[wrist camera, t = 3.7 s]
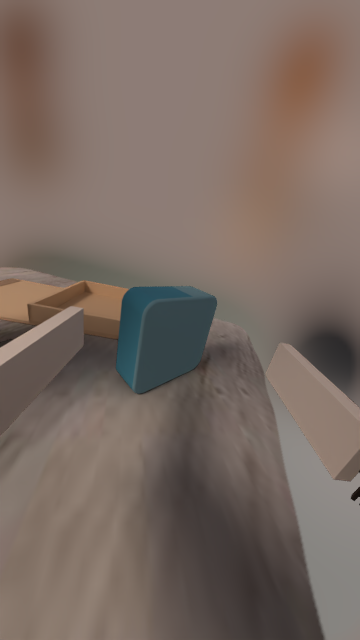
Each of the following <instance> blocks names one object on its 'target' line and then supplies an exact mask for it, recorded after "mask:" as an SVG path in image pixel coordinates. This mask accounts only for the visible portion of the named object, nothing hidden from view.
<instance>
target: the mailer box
mask: <svg viewBox="0 0 360 640" xmlns="http://www.w3.org/2000/svg"><path fill="white" fill-rule="evenodd" d="M128 290H129V289H126V288H121V287H116V286H111V285H105V284H100V283H95V282H90V281H85V280H83V281H80V282H78V283H76V284H73V285H71V286H68V287H66V288H60V287H55V286H50V285H45V284H39V283H34V282H29V281H24V280H19V279H7V280H3V281H0V319H2V320H8V321H13V322H19V323H25V324H31V325H37V326H38V325H40V324H41V323H43V322H45V321H46V320H48V319H50V318H51V317H53V316H55V315H57V314H58V313H60V312H62V311H63V310H65V309H67V308H68V307H70V306H74V307H80V308H84V334H89V335H94V336H100V337H106V338H112V339H118V338H119V327H120V316H121V304H122V298H123V296H124V294H125V293H126V292H127V291H128Z"/></svg>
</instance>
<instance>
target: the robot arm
mask: <svg viewBox="0 0 360 640" xmlns="http://www.w3.org/2000/svg"><path fill="white" fill-rule="evenodd" d="M83 346H84V308H80V307H74V306H70V307H68V308H67V309H65V310H63V311H62V312H60V313H58V314H57V315H55V316H53V317H51V318H50V319H48V320H46V321H45V322H43V323H41V324H40V325H38V326H36V327H35V328H33V329H31V330H29V331H28V332H26V333H24V334H23V335H21V336H19V337H18V338H16V339H14V340H13V339H9V340H6V341H3V342H0V436H1V435H2V434H3V433H4V432H5V431H6V429H7V428H8V427H9V426H10V425H11V424H12V423H13V422H14V421H15V420H16V419H17V418H18V416H19V415H20V414H21V413H22V412H23V411H24V410H25V409H26V408H27V407H28V406H29V404H30V403H31V402H32V401H33V400H34V399H35V398H36V397H37V396H38V395H39V394H40V393H41V391H42V390H43V389H44V388H45V387H46V386H47V385H48V384H49V383H50V382H51V381H52V379H53V378H54V377H55V376H56V375H57V374H58V373H59V372H60V371H61V370H62V369H63V368H64V366H65V365H66V364H67V363H68V362H69V361H70V360H71V359H72V358H73V357H74V356H75V354H76V353H77V352H78V351H79V350H80V349H81V348H82V347H83ZM265 375H266V377H267V378H268V380H269V381H270V383H271V384H272V386H273V388H274V389H275V391H276V392H277V394H278V395H279V397H280V398H281V400H282V401H283V403H284V404H285V406H286V407H287V409H288V411H289V412H290V414H291V415H292V417H293V418H294V420H295V421H296V423H297V424H298V426H299V427H300V429H301V430H302V432H303V433H304V435H305V436H306V438H307V440H308V441H309V443H310V444H311V446H312V447H313V449H314V450H315V451H316V453H317V455H318V456H319V458H320V459H321V461H322V462H323V464H324V466H325V467H326V469H327V470H328V472H329V473H330V475H331V476H332V478H333V479H334V480H343V481H351V480H352V479H353V478H354V477H355V476H356V475H357V474H358V473H359V472H360V408H359V407H358V406H357V405H356V404H355V403H354V402H353V401H352V400H351V399H350V398H348V397H347V396H346V395H345V394H344V393H342V391H341V390H339V389H338V388H337V387H336V386H335V385H334V384H333V383H332V382H331V381H330V380H329V379H327V378H326V377H325V376H324V375H323V374H322V373H321V372H320V371H319V370H317V369H316V368H315V367H314V366H313V365H312V364H311V363H310V362H309V361H308V360H307V359H306V358H304V357H303V356H302V355H301V354H300V353H299V352H298V351H297V350H296V349H295V348H293V347H292V346H291V345H290V344H285V343H279V345H278V347H277V349H276V351H275V354H274V356H273V358H272V360H271V362H270V365H269V367H268V369H267V371H266V374H265ZM358 497H360V487H359V488H358V489H357V490H356V491H355V492H354V493H353V494H352V496H351V499H352V500H354V501H355V500H356V499H357V498H358ZM359 505H360V504H359Z"/></svg>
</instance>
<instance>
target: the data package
mask: <svg viewBox="0 0 360 640" xmlns="http://www.w3.org/2000/svg"><path fill="white" fill-rule="evenodd" d="M216 306H217V300H216V298H215V296H213V295H210V294H208V293H206V292H203V291H201V290H198V289H196V288H194V287H191V286H176V287H175V286H171V287H133V288H131V289H129V290H128V291H127V292H126V293H125V294H124V296H123V298H122V304H121V316H120V327H119V338H118V349H117V360H116V370H117V371H118V373H119V374H120V375H121V376H122V378H123V379H124V380H125V381H126V383H127V384H128V385H129V386H130V388H131V389H132V390H133V391H134V392H135V393H137V394H141V393H144V392H146V391H148V390H150V389H152V388H155V387H157V386H159V385H161V384H163V383H165V382H167V381H170V380H172V379H174V378H176V377H178V376H180V375H182V374H184V373H187V372H189V371H191V370H193V369H194V368H195V367H196V366H197V365H198V364H199V362H200V360H201V357H202V354H203V350H204V347H205V344H206V340H207V337H208V334H209V330H210V327H211V323H212V320H213V317H214V313H215V310H216Z"/></svg>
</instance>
